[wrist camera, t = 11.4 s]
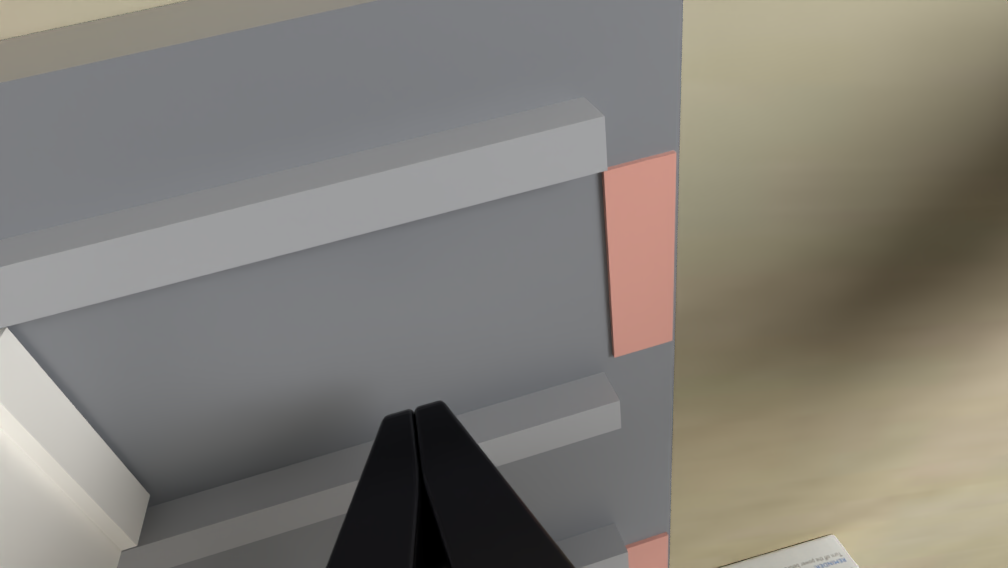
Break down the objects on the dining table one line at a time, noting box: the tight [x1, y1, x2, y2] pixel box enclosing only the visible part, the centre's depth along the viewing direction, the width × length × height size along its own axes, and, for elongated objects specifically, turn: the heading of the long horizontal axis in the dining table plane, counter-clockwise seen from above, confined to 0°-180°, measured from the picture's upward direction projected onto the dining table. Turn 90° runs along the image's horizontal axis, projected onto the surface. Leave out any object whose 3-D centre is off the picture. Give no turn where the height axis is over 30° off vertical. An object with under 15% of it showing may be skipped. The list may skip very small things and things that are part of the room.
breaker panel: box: [0, 0, 683, 568], centre depth 14 cm, size 15×21×4 cm
